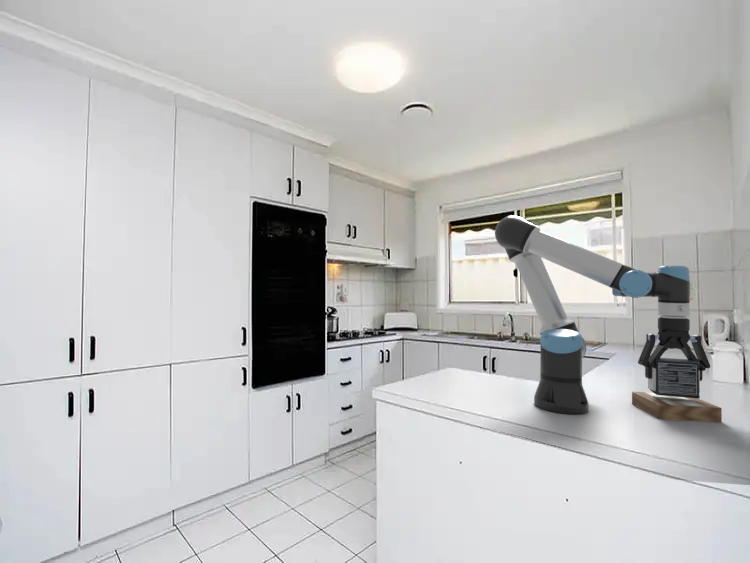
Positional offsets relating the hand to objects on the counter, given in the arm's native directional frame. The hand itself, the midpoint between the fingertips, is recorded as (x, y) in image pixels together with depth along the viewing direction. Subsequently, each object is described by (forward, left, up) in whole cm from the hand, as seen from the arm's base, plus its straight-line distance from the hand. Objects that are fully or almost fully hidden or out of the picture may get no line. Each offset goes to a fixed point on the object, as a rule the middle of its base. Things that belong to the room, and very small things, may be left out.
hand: (673, 390), depth 113 cm
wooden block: (0, 0, -7) cm, 7 cm away
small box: (0, 0, -1) cm, 1 cm away
